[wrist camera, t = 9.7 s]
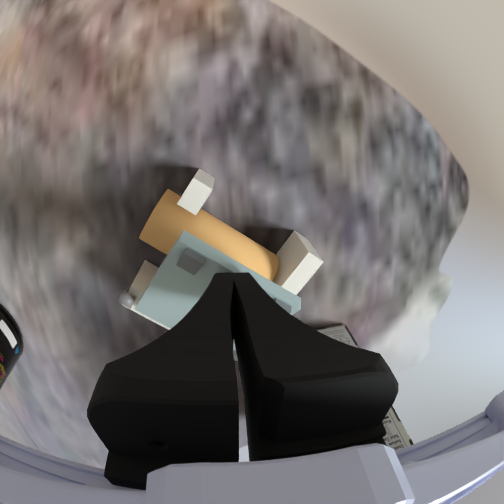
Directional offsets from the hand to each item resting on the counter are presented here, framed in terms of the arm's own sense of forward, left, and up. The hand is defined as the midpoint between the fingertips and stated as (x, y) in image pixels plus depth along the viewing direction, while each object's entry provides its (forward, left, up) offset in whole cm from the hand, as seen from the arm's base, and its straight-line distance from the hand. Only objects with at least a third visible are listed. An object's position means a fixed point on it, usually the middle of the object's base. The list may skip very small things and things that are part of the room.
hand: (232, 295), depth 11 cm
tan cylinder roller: (-1, -1, -7) cm, 7 cm away
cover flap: (0, -2, -2) cm, 3 cm away
